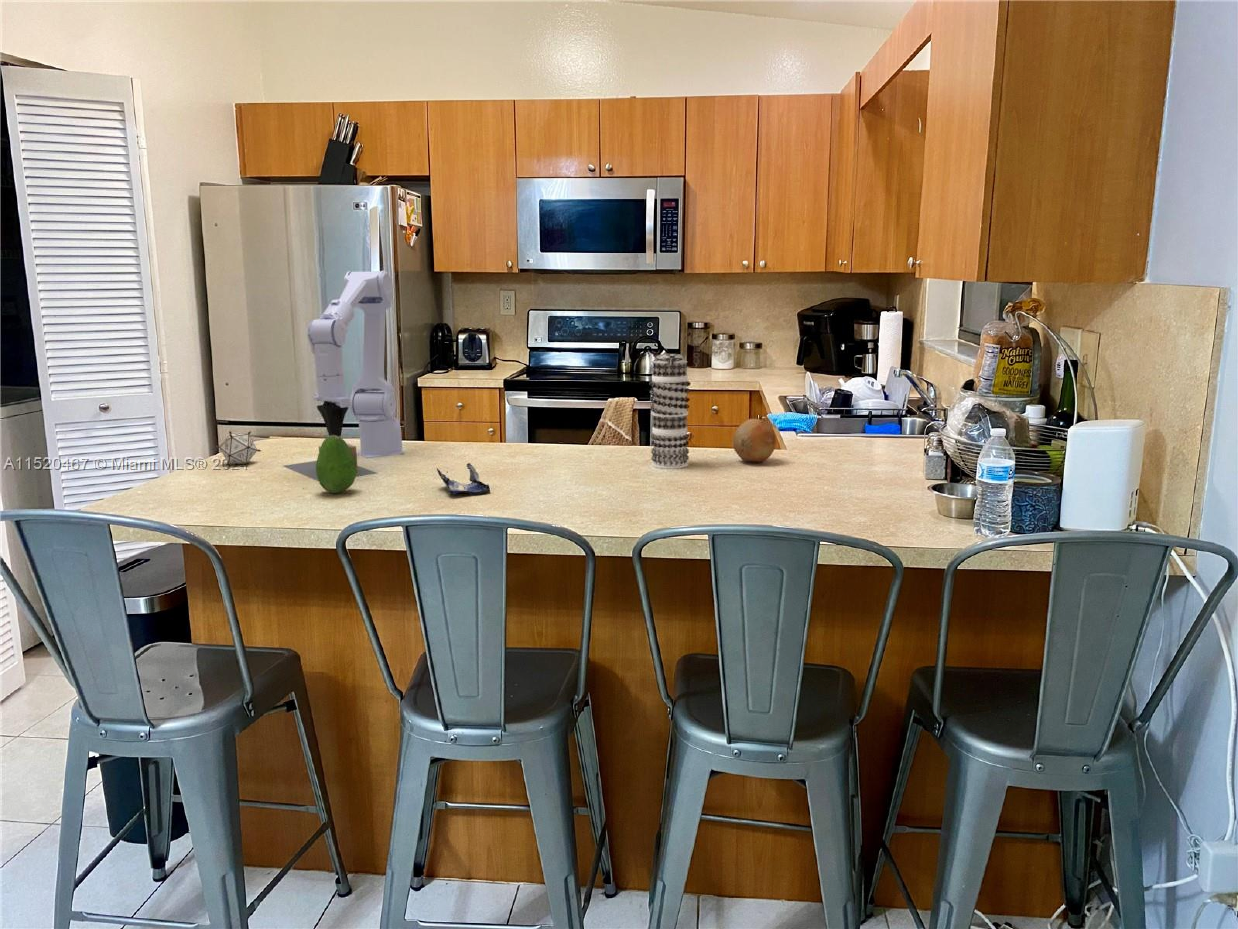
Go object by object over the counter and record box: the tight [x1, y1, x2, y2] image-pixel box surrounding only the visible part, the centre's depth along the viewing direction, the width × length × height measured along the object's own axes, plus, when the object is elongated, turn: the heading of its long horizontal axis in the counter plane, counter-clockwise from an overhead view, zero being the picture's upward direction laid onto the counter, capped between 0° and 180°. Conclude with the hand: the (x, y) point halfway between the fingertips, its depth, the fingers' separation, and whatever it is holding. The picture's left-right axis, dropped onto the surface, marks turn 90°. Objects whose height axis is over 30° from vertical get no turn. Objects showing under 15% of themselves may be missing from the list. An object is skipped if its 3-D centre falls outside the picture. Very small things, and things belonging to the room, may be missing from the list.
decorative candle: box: [648, 353, 692, 470], centre depth 204 cm, size 9×9×25 cm
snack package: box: [436, 462, 491, 496], centre depth 184 cm, size 12×6×12 cm
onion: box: [732, 418, 777, 463], centre depth 207 cm, size 10×10×10 cm
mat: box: [282, 460, 378, 482], centre depth 205 cm, size 13×23×1 cm, turn 40°
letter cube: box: [318, 442, 359, 474], centre depth 200 cm, size 6×6×6 cm
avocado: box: [316, 435, 358, 494], centre depth 183 cm, size 8×8×12 cm
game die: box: [215, 430, 262, 467], centre depth 211 cm, size 9×8×10 cm
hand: (335, 436), depth 200 cm, fingers closed
